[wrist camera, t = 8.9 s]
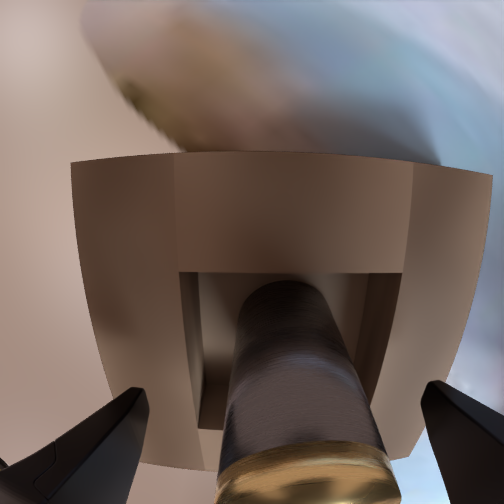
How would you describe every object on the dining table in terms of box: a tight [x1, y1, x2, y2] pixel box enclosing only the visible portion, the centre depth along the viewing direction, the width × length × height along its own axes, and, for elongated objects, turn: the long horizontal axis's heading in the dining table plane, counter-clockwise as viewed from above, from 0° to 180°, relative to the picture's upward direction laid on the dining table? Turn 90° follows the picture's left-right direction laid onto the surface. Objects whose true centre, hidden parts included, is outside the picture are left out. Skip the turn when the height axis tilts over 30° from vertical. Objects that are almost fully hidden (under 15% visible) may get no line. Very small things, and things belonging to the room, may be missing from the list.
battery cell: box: [214, 280, 402, 504], centre depth 9 cm, size 4×4×9 cm
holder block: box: [71, 151, 493, 472], centre depth 12 cm, size 14×14×4 cm
